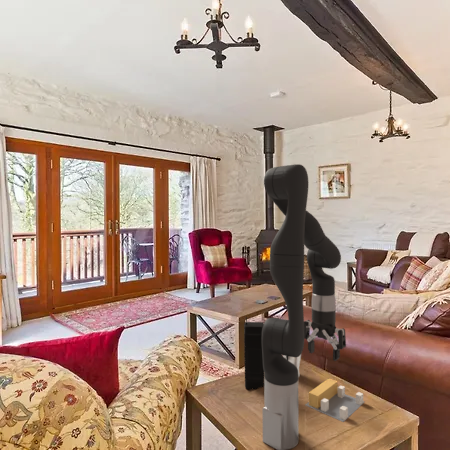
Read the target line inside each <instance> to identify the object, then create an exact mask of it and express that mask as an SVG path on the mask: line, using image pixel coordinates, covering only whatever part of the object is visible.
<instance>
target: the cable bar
mask: <svg viewBox="0 0 450 450" xmlns="http://www.w3.org/2000/svg"><path fill="white" fill-rule="evenodd" d="M338 385H339V384H338V381H337V380H334V379H332V378H330V377H329V378H328V379H326V380H325V381H323V382H322V383H320V384H318V385H317V386H316V387H315V388H313V389H312V390H310V391H309V392H308V402H309V405H310V406H313V407H315V408H317V409H318V408H319V407H321V400H322V399H323V398H325V399H328V400H329V399H331V398H332V397H333V396H334V395H336V394H337V393H338V387H339V386H338Z"/></svg>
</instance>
